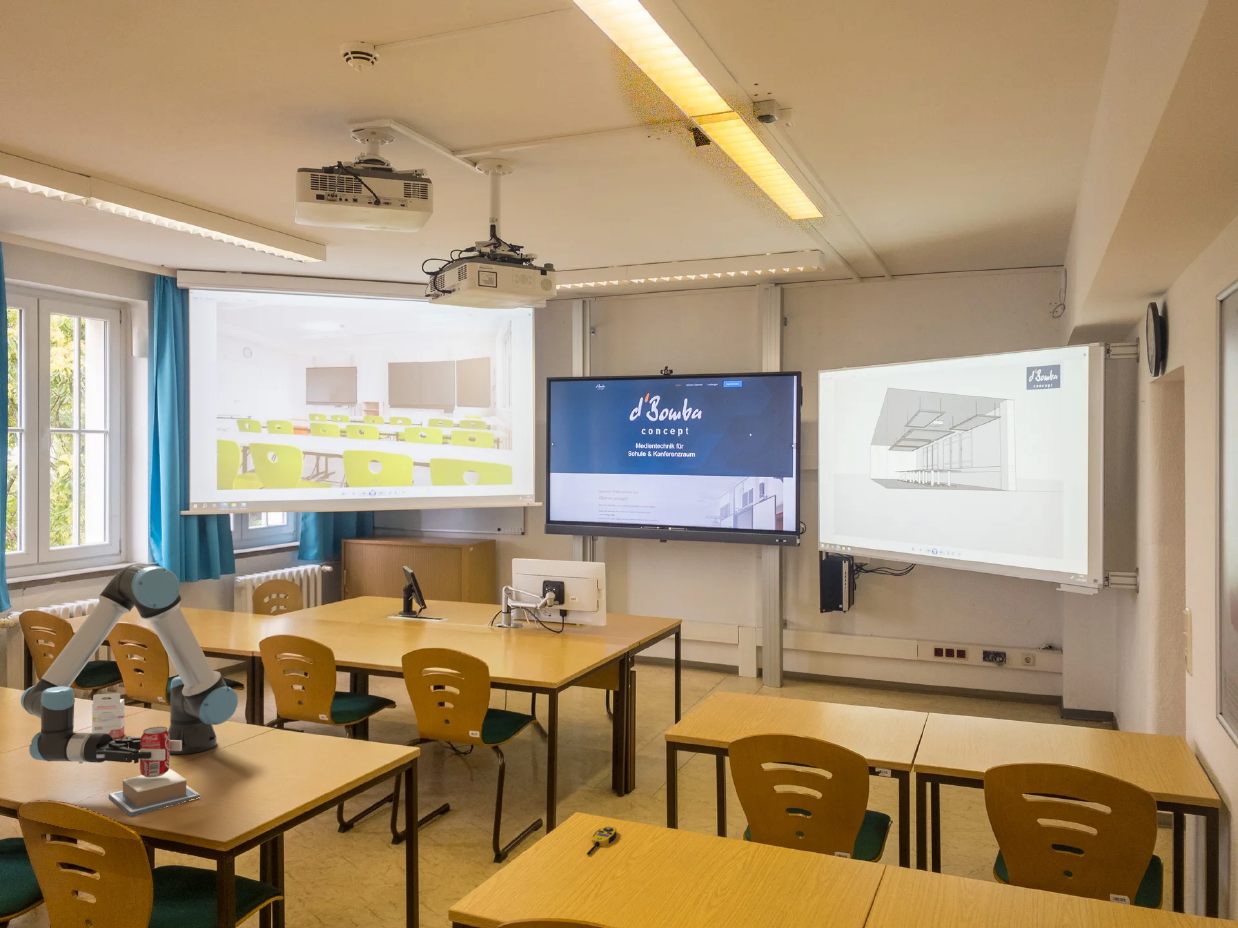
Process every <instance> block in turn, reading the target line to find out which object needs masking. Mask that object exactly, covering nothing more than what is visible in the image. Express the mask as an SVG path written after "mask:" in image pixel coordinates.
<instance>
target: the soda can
mask: <svg viewBox="0 0 1238 928" xmlns="http://www.w3.org/2000/svg"><path fill="white" fill-rule="evenodd" d="M142 732H143V733H142V734H141V736H140V737H141V741H140V749H165V760H140V759H139V772H140V773H139V774H140V776H141V775H143V776H145V777H158V776H161V775H164V774H165V773H166V772H167V771H168V770H169V769H170V759H171V758H170V755H171V754H170V735H169V733H168V728H167V727H166V726H153V727H148V728H146V729H143V731H142Z"/></svg>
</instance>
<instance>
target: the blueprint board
mask: <svg viewBox="0 0 1238 928" xmlns="http://www.w3.org/2000/svg"><path fill="white" fill-rule="evenodd" d="M198 797H200V798H201V794H200V793H199V792H197V791H196V790H194V788H191V787H190V786H189V785H188V784H187V779H186V778H185V777H183V776H182V775H181V774H179V773H177V772H176V771H175V770H173V769H172V768H169V770H168V771H167V772H166V773H165V774H164V775H161V776H158V777H145V776H143V775H141V774H140V775H138V776H133V777H128V778H125V779H122V790H120V791H114V792H110V793H108V799H110V800H111V801H112V802H113V803H115V805H116V806H118V807H119V808H121V810H123V811H124V812H125V813H126V814H127V815H128V816H130V817H134V816H138V815H143V814H146V812H147V813H150V812H154V811H157V809H158V810H160V809H159V808H162V809H165V808H164V807H166V806H170V807H172V806H171V805H174V806H177V805H176V804H178V803H182V802H184V801H189V800H191V799H196V798H198ZM189 802H190V801H189ZM182 804H183V803H182ZM178 805H179V804H178ZM166 808H167V807H166ZM153 810H154V811H153Z"/></svg>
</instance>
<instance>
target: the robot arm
mask: <svg viewBox="0 0 1238 928" xmlns="http://www.w3.org/2000/svg"><path fill="white" fill-rule="evenodd" d="M180 589H181V588H180V581H179V579H178V577H177V575H176V574H175V573H174V572H173V571H171V570H170V569H168V568H165V567H163V566H160V565H150V564H146V563H140V562H139V563H133V564H130V565H126V566H125V567H123V568H122V569H120V570H119V571H118V572H117V573H116V574H115V575H114V576H113V577H112V578H111V579H110V581H109V582H108V583H107V585H105V587H104V589H103V590H102V591H101V593H100V594H99V595H98V602H97V604H96V605H95V607H93V609H92V610H91V612H90V613H89V615H88V616H87V617H86V619H85V620H84V621H83V622H82V623H81V625H80V627H79V628H78V629H77V630H76V632H75V633H74V634H73V636H72V637H71V639H70V640H69V641H68V642H67V643H66V645H65V646H64V648H63V649H62V650H61V652H60V653H59V655H57V657H56V659H54V661H53V662H52V663H51V665H50V666H49V668H48V669H47V670H46V671H45V672H44V674H43V675H42V677H41V678H40V679H39V680H38V682H37V683H36V684H35V685H33V686H30V687H28V688H27V689H25V691H24V692H23V693H22V694H21V697H20V705H21V707H22V708H23V710H25V711H26V712H27V713H28V714H29V715H31V716H36V717H37V718H39V719H40V726H41V727H40V731H39V732H37V733H36V734H34V735H33V737H32V739H31V741H30V742H31V744H29V747H28V748H29V749H28V751H29V755H30V757H32V759H34V760H37V761H45V762H70V763H71V762H73V763H74V762H78V764H83V763H98V764H99V763H101V764H102V763H104V762H117V763H128V764H129V763H132V762H133V764H138V763H140V760H165V749H140V741H141V736H130V735H129V736H126V738H125V739H122V738H112V737H111V736H110V735H109V734H105V733H95V734H94V733H92V732H74V724H75V721H74V720H75V701H76V700H75V693H74V692H75V691H74V688H73V687H71V685H72V684H73V683H74V682H75V680H76V679H77V677H78V676H79V675H80V674H81V672H82V671H83V669H84V668H85V667H86V665H87V664H88V663H89V662H90V660H91V659H92V657H93V656H94V654H95V653H96V652H97V650H99V648H100V647H101V645H102V644H103V642H104V641H105V640H106V638H107V637H108V636H109V635H110V633H111V631H112V630H113V629H114V627H116V625H117V624H118V622H119V621H120V620H121V618H122V617H123V616H124V615H126V614H129V613H130V612H131V610H132V609H133V608H134V607H135V608H136V610H137V611H138V615H139V616H140V617H141V619H143V620H148V621H149V622H150V624H151V625H152V628H153V629H154V632H155V633H156V635H157V637H158V639H159V640H160V642H161V644H162V647H163V648H164V650H165V651H166V654H167V655H168V657H169V659H170V661H171V662H172V665H173V667H174V669H175V671H176V672H177V674H178V676H175V677H174V678H172V680H171V682H170V687H169V688H170V689H169V691H170V700H169V701H170V705H169V706H170V708H169V709H170V710H169V711H170V713H169V714H170V716H169V717H170V719H169V720H170V721H169V722H170V723H169V728H168V729H167V731H168V733H169V735H170V755H189V754H195V753H201V752H205V751H209V750H210V749H213V748H214V747H215V746H217V739H218V738H217V735H216V731H215V729H214V726H215V725H216V726H217V725H221V724H223V723H226V722H227V721H228V720H230V719H231V718H232V716H233V715H234V714H235V712H236V709H237V707H238V706H239V705H238V704H239V698H238V694H237V692H236V691H235V690H234V689H233V688H232V687H231V686H228V685H227V684H226V681H225V680H224V678H223V676H222V674H221V672H220V671H216V670H213V669H212V667H211V664H210V663H209V661H208V659H207V657H206V655H205V653H204V650H203V649H202V647H201V646H200V644H199V641H198V640H197V638H196V636H195V634H194V632H193V630H192V628H191V626H190V624H189V623H188V621H187V618H186V617H185V615H184V612H183V611H182V608H181V607H180V605H181V603H182V601H183V598H182V597H181V594H180ZM213 725H214V726H213Z"/></svg>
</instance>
